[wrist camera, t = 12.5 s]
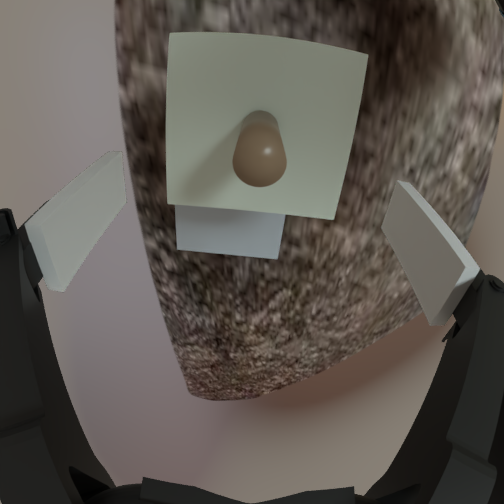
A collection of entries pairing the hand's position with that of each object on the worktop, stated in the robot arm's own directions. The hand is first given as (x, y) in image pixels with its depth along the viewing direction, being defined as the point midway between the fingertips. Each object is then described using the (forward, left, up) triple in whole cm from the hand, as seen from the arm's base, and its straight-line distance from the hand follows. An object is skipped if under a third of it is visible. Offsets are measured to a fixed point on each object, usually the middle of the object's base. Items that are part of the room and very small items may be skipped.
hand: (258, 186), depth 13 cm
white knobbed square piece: (0, 0, -16) cm, 16 cm away
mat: (+3, +17, -28) cm, 33 cm away
